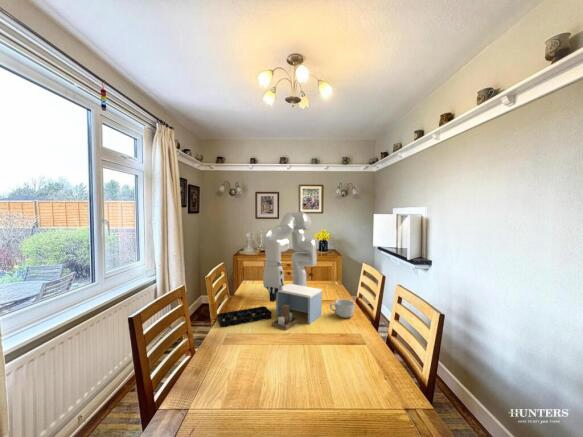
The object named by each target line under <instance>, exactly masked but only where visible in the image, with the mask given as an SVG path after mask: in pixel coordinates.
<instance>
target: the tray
mask: <svg viewBox="0 0 583 437" xmlns="http://www.w3.org/2000/svg"><path fill="white" fill-rule="evenodd" d="M277 317H278V318H277V319H276V320H274V321H272V322H271V327H274V328H277V329H280V330H283V331H287V330H289V329H291V328H292V327H294V326H295V325H296V324H298V323H299V318H298V317H294V316H293V312H291V311H290V309H289V305H283V306H282V314H281V315H280V316H277Z"/></svg>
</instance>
